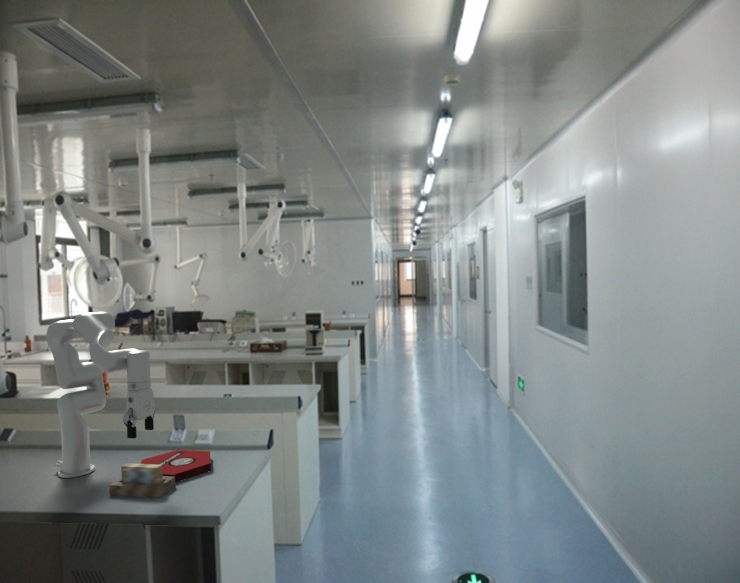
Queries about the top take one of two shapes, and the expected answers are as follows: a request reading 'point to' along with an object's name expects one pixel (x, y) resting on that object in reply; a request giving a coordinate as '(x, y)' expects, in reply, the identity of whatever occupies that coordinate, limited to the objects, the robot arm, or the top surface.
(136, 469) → the tan rectangular slab
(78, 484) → the top surface
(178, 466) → the plaque
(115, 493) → the tan shallow box
